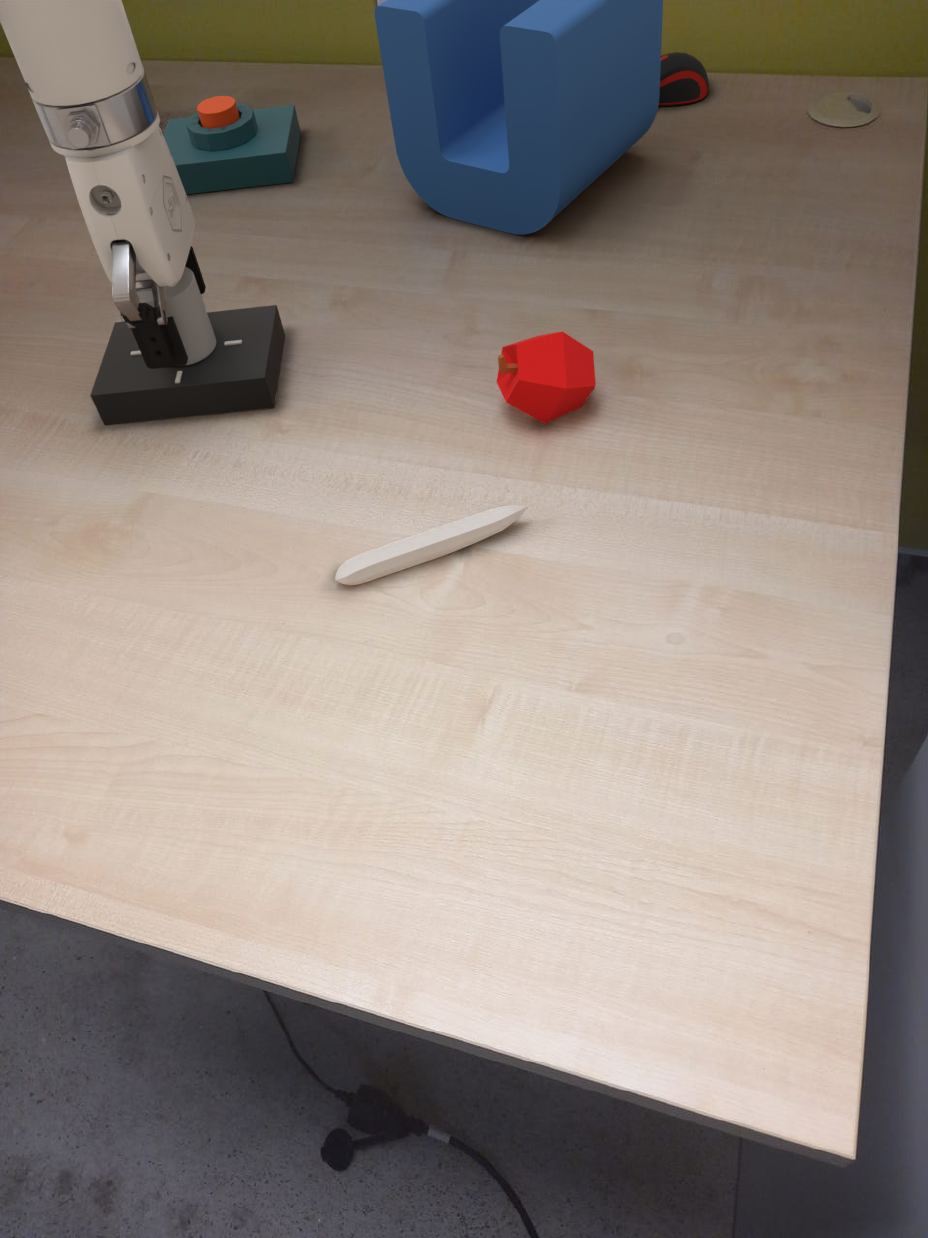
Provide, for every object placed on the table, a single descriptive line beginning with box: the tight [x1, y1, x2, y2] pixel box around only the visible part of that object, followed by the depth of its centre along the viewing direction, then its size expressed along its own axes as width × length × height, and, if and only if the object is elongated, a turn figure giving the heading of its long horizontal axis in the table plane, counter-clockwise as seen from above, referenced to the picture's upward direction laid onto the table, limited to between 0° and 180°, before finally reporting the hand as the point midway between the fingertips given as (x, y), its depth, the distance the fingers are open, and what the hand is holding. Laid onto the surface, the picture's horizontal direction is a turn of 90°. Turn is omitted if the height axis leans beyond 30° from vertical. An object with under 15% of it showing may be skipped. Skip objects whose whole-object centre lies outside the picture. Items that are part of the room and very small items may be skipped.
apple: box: [496, 331, 597, 425], centre depth 76 cm, size 7×7×8 cm
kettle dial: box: [136, 267, 216, 367], centre depth 81 cm, size 5×5×6 cm
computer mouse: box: [658, 51, 710, 108], centre depth 108 cm, size 6×11×4 cm, turn 96°
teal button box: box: [162, 102, 302, 195], centre depth 108 cm, size 14×11×5 cm
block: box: [374, 0, 664, 235], centre depth 94 cm, size 18×18×18 cm
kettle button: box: [196, 95, 240, 129], centre depth 106 cm, size 4×4×2 cm
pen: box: [334, 504, 529, 586], centre depth 69 cm, size 2×14×2 cm, turn 111°
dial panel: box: [90, 304, 286, 426], centre depth 84 cm, size 14×10×3 cm
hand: (178, 328), depth 82 cm, fingers open, 9 cm apart
